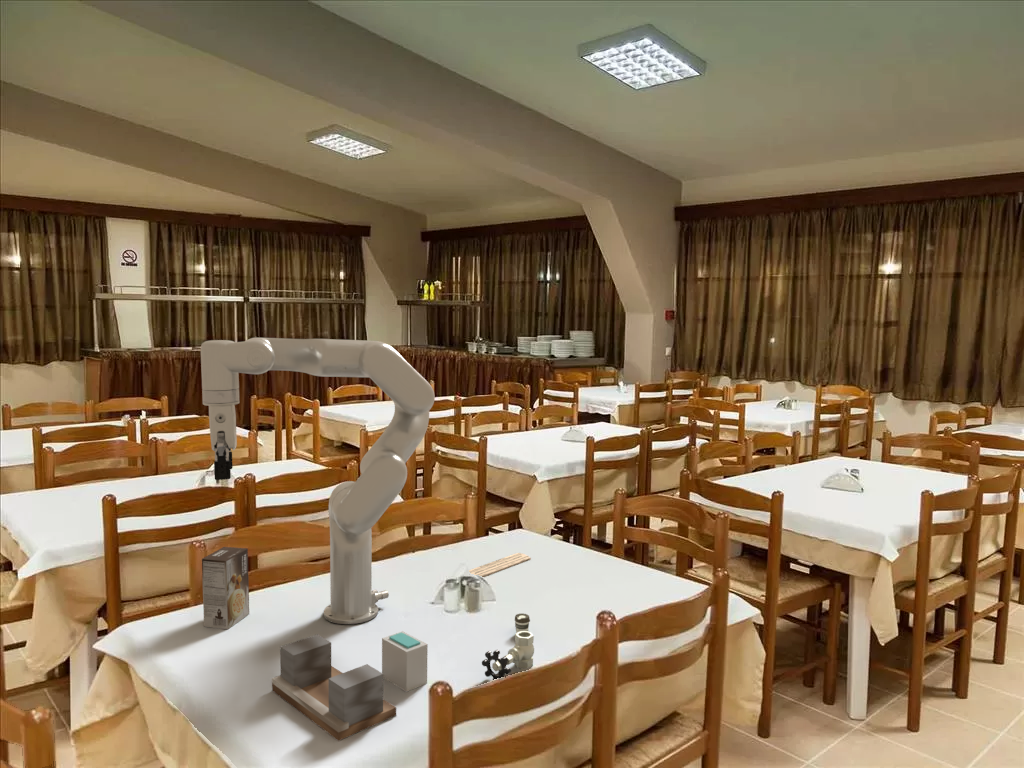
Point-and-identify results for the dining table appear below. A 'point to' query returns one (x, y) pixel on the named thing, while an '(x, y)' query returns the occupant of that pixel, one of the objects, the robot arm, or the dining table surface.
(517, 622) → the coffee cup
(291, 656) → the mounting plate
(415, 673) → the module block
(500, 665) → the valve
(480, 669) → the dining table surface
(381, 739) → the dining table surface
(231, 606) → the coffee box
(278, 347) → the robot arm
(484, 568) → the striped wooden board
